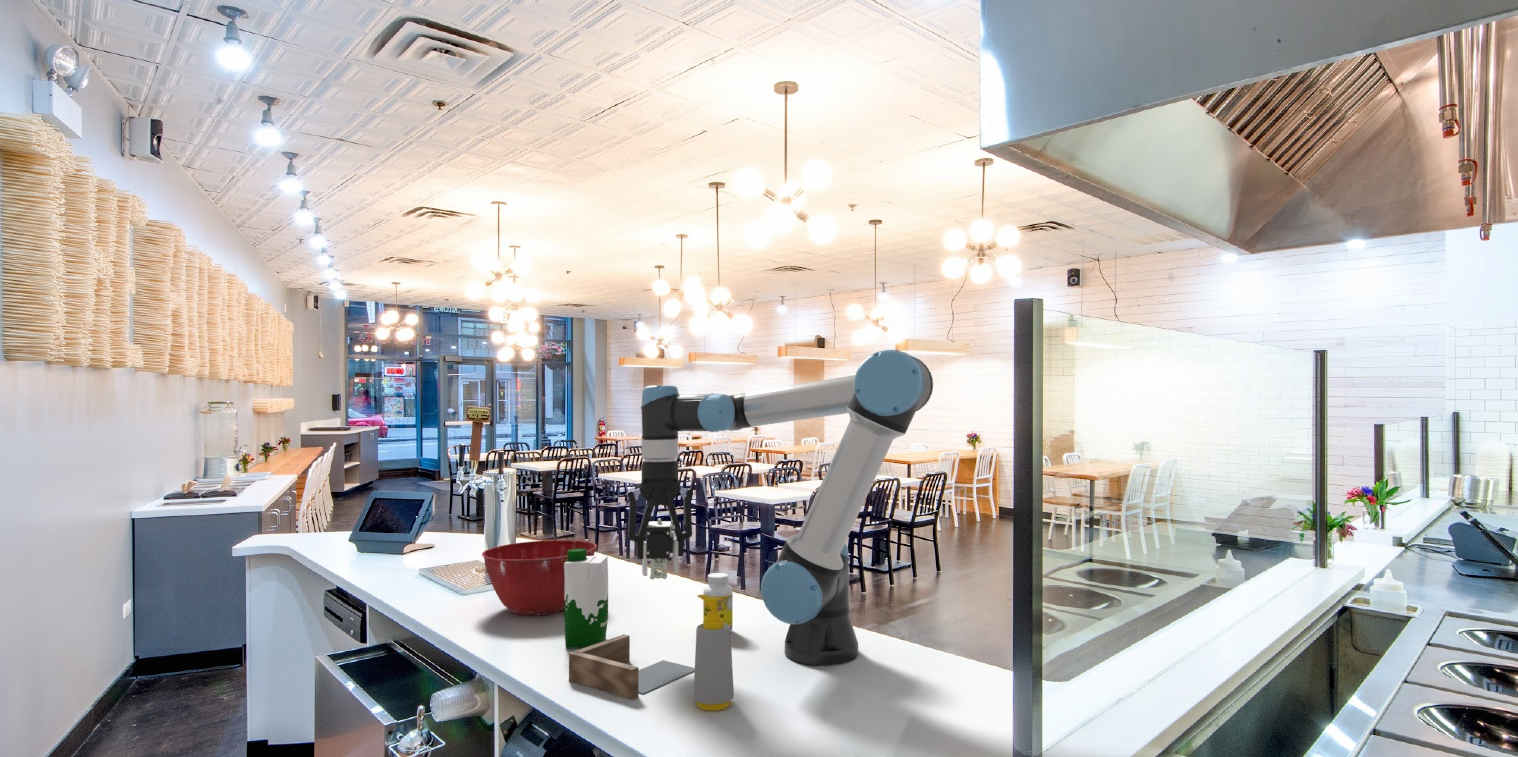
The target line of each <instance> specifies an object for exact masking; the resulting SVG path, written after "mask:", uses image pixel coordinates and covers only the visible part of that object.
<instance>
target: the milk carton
mask: <svg viewBox="0 0 1518 757" xmlns="http://www.w3.org/2000/svg"><path fill="white" fill-rule="evenodd" d="M608 562H609V561H608V556H605V555H604V556H603V555H602V556H601V555H599V556H597V555H594V556H586V549H583V548H575V549H569V550H568V551H567V560H566V562H565V563H564V576H565V602H564V610H563V612H564V613H563V614H564V616H563V617H564V622H563V623H564V624H563V625H564V638H565V639H564V641H565V643H564V645H565V649H583V648H586V647H588V646H591V645H594V644H597V643H600V642H603V641H605V639H606V638H607V629H608V623H609V622H608V621H609V564H608Z"/></svg>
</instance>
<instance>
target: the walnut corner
mask: <svg viewBox="0 0 1518 757" xmlns="http://www.w3.org/2000/svg"><path fill="white" fill-rule="evenodd" d="M630 644H631V643H630V634H621V635H618V636H615V637H613V638H610V639H606V640H604V641H603V642H600V643H597V644H594V645H591V646H588V647H586V648H579V649H576V650H574V651H571V652H569V653H568V681H569V682H573V683H576V684H579V685H583V686H586V687H589V688H592V689H595V690H599V691H602V692H606V693H608V694H613V695H616V696H618V697H622V698H626V699H629V700H634V699H637V698H638V697H639V693H638V670H640V669H639V666H634V665H631V664H627V663H628V662H630V661H631V660H630V657H631V656H630Z"/></svg>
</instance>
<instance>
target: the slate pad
mask: <svg viewBox="0 0 1518 757" xmlns="http://www.w3.org/2000/svg"><path fill="white" fill-rule="evenodd" d="M692 673H695V667H692V666H688V665H686V664H681V663H678V662H672V661H669V660H664V659H663V660H660V661H658V662H655V663H654V664H651V665H648V666H646V667H643V668H641V669H639V670H638V694H640V693H641V694H640V695H645V694H647V693H649V692H652V691H654V690H656V689H658V687H659V688H661V687H663V686H665V685H667V684H670V683H672V682H674V681H676V680H678V679H681V678H683V677H685V676H687V674H688V675H689V674H692ZM671 681H672V682H671ZM669 682H670V683H669Z"/></svg>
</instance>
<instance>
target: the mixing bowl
mask: <svg viewBox="0 0 1518 757" xmlns="http://www.w3.org/2000/svg"><path fill="white" fill-rule="evenodd" d="M597 547H598V545H597V543H595V542H591V541H585V540H577V539H576V540H575V539H574V540H573V539H571V540H570V539H551V540H549V539H548V540H536V541H535V540H534V541H532V540H531V541H524V542H516V543H510V544H503V545H498V546H494V547H491V548H488V549H486V550H484V551H483V552H482V553H481V556H482V557H483V559H484V560H483V561H484V564H485V567H486V571H487V575H488V578H489V581H490V584H491V585H492V587H493V590H494V591H495V594H496V595H497V597H498V600H500V602H501V604H502V605H503V606H504V607H505V608H507V609H508V610H509V611H511V612H513V613H515V614H516V615H519V616H521V615H522V616H544V615H545V616H546V615H549V614H555V613H559V612H562V611H564V602H565V576H564V563H565V562H566V560H567V551H568V550H569V549H575V548H583V549H586V556H595V552H596V549H597Z"/></svg>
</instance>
